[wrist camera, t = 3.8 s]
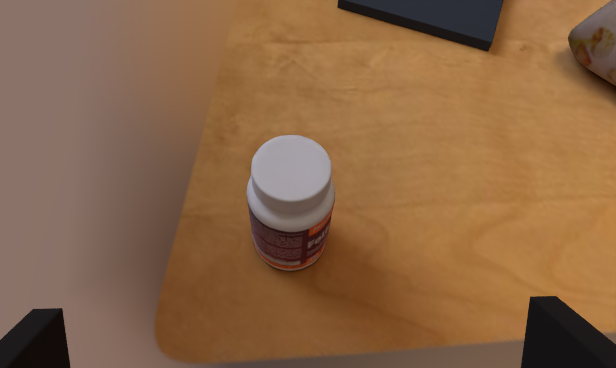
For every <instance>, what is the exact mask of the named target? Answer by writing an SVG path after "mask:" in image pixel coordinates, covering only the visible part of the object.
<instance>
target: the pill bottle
mask: <svg viewBox="0 0 616 368" xmlns="http://www.w3.org/2000/svg"><path fill="white" fill-rule="evenodd" d="M331 175H332V165H331V161H330V158H329V156H328V154H327V152H326V151H325V150H324V148H323V147H322V146H320V145H319V144H318V143H316V142H315V141H313V140H311V139H309V138H306V137H303V136H298V135H284V136H279V137H276V138H273V139H271V140H269V141H267V142H266V143H264V144H263V145H262V146H261V147H260V148H259V149H258V150H257V152H256V153H255V155H254V157H253V160H252V165H251V177H250V179H249V182H248V186H247V201H248V207H249V213H250V220H251V227H252V236H253V241H254V245H255V248H256V250H257V252H258V254H259V255H260V257H261V258H262V259H263V260H264V261H265V262H266V263H268V264H269V265H271V266H273V267H275V268H278V269H281V270H286V271H294V270H300V269H303V268H305V267H307V266H309V265H311V264H312V263H314V262H315V261H316V260H317V259H318V258H319V257H320V255H321V254H322V252H323V250H324V248H325V245H326V239H327V235H328V231H329V226H330V220H331V214H332V210H333V205H334V201H335V188H334V184H333V181H332V178H331Z"/></svg>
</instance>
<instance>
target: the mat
mask: <svg viewBox="0 0 616 368" xmlns="http://www.w3.org/2000/svg"><path fill="white" fill-rule="evenodd" d="M502 4H503V0H338V8H342V9H345V10H349V11H352V12H355V13H359V14H362V15H366V16H369V17H373V18H376V19H379V20H383V21H386V22H390V23H393V24H397V25H400V26H404V27H407V28H410V29H414V30H417V31H421V32H424V33H428V34H431V35H434V36H438V37H441V38H445V39H448V40H452V41H455V42H458V43H462V44H465V45H469V46H472V47H476V48H479V49H482V50H486V51H488V50H489V48H490V46H491V44H492V41H493V38H494V34H495V30H496V26H497V23H498V19H499V15H500V11H501V7H502Z"/></svg>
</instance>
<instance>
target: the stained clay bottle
mask: <svg viewBox="0 0 616 368" xmlns="http://www.w3.org/2000/svg"><path fill="white" fill-rule="evenodd" d="M568 41H569V45H570V48H571V51H572V53H573V54H574V56H575V57H576V59H577V60H578V61H579V62H580V63H581V64H582V65H584V66H585V67H586V68H588V69H589V70H590V71H592V72H594V73H595V74H597V75H599V76H600V77H602V78H604V79H605V80H607V81H608V82H610V83H612V84H613V85H615V86H616V0H612V1H610V2H609V3H607V4H606V5H604V6H603V7H601V8H600V9H599V10H597V11H596V12H594V13H593V14H592V15H590V16H589V17H588V18H586V19H585V20H584V21H582V22H581V23H580V24H578V25H577V26H576V27H575V28H573V29H572V31H571V32H570V34H569V36H568Z"/></svg>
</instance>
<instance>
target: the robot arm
mask: <svg viewBox="0 0 616 368" xmlns="http://www.w3.org/2000/svg"><path fill="white" fill-rule="evenodd" d="M0 368H70V361H69V354H68V347H67V340H66V333H65V325H64V319H63V311H62V308H59V309H58V308H57V309H33V310H32V311H31V312H30V313H29V314H27V315H26V316H25V317H24V318H23V319H22V320H21V321H20V322H19V323H18V324H17V325H16V326H15V327H14V328H13V329H11V330H10V331H9V332H8V333H7V334H6V335H5V336H4V337H3V338H2V339H1V340H0ZM521 368H616V344H614V343H613V342H612V341H611V340H609V339H608V338H607V337H605V336H604V335H603V334H602V333H601V332H600V331H598V330H597V329H596V328H595V327H593V326H592V325H591V324H590V323H588V322H587V321H586V320H585V319H584V318H582V317H581V316H580V315H579V314H577V313H576V312H575V311H574V310H572V309H571V308H570V307H569V306H567V305H566V304H565V303H564V302H563V301H561V300H560V299H559V298H558V297H556V296H542V297H530V302H529V310H528V318H527V325H526V333H525V341H524V348H523V356H522V364H521Z"/></svg>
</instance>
